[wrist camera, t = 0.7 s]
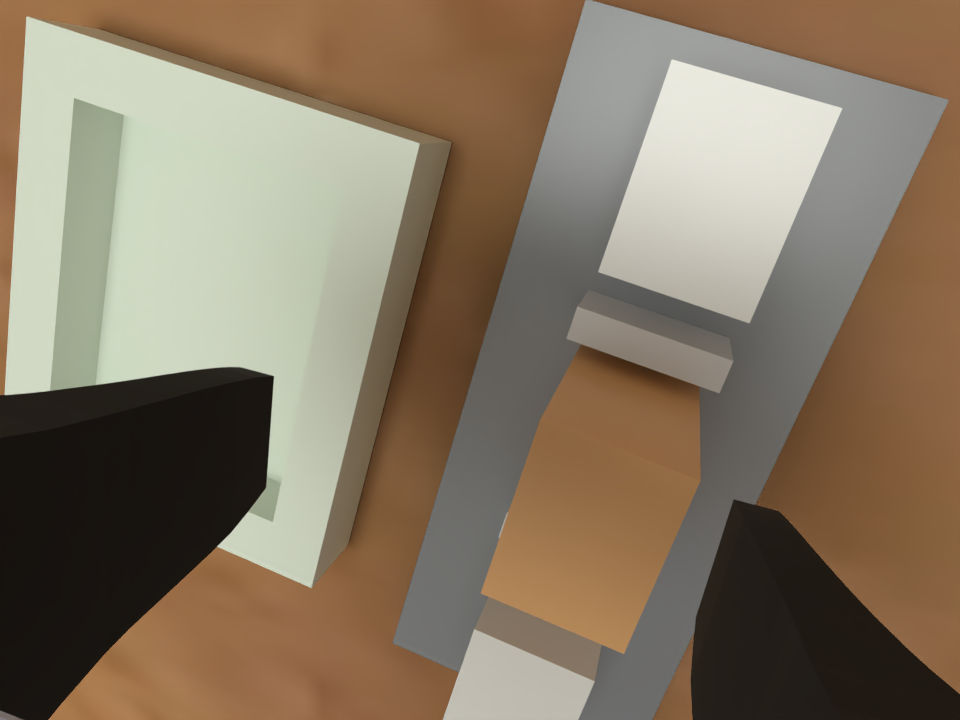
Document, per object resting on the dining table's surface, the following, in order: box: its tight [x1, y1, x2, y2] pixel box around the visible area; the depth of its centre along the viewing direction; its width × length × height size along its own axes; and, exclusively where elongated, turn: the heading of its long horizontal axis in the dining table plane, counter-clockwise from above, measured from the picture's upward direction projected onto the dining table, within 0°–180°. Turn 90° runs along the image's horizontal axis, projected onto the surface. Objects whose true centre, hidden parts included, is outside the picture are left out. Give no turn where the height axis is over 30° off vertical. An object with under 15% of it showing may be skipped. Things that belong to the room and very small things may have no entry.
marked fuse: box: [481, 344, 701, 654], centre depth 17 cm, size 4×3×6 cm
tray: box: [5, 16, 452, 588], centre depth 22 cm, size 13×11×2 cm
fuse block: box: [393, 0, 949, 720], centre depth 18 cm, size 19×8×5 cm, turn 164°
